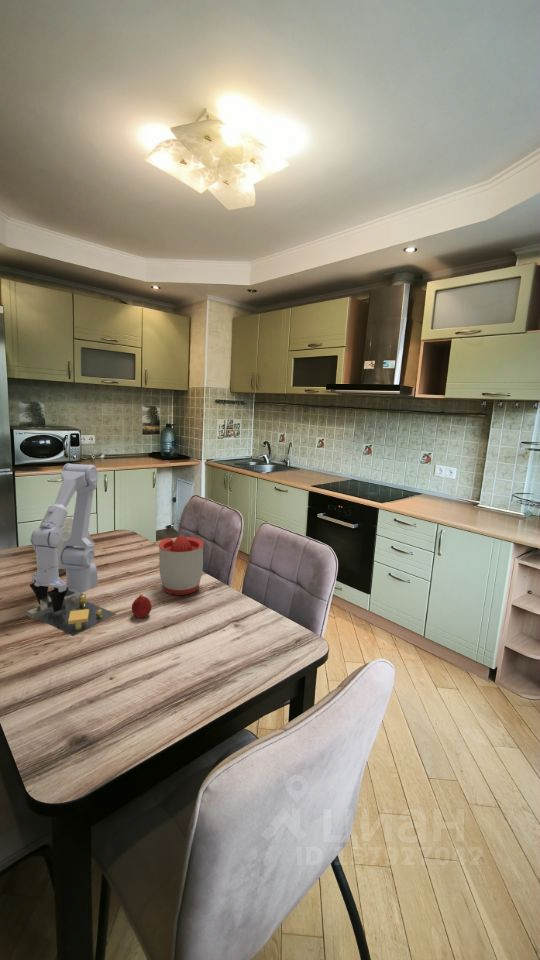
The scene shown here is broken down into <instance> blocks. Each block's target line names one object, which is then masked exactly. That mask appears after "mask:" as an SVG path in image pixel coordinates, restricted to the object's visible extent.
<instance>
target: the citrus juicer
mask: <svg viewBox="0 0 540 960" xmlns="http://www.w3.org/2000/svg"><path fill="white" fill-rule="evenodd" d="M157 545H158V550H159V551H158V553H159V557H158V559H159V562H158V563H159V565H158V567H159V576H160V580H161V584H162V587H163V589H164V592H166V593H168V594H170V595H172V594H174V596H175V595H176V596H178V595H179V596H181V595H182V596H183V595H188V594H192V593H194V592H196V591H197V590H198V588H199V586H200V583H201V579H202V575H203V569H204V545H205V543H204V541H203V540H201V539H199V538H197V537H193V536H192V537H191V536H187V537H185V536H184V535H183V534H180V535H179V536H178V537H176V538H175V540H173V538H172V537H169V538H165V539H163V540H161V541H160V542H159V543H158V544H157Z"/></svg>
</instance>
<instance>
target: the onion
mask: <svg viewBox="0 0 540 960" xmlns="http://www.w3.org/2000/svg"><path fill="white" fill-rule="evenodd" d="M152 607H153V606H152V601H151V600H150V598H149V597H147V596H146V595H143V593H140V594H139V596H138V597H136V598H135V600H133V602H132V604H131V612H132V614H133V615H134V616H135V617H137V618H138V619H144V618H145V617H147V616H148V615H150V612H151V610H152Z"/></svg>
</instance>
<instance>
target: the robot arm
mask: <svg viewBox="0 0 540 960" xmlns="http://www.w3.org/2000/svg"><path fill="white" fill-rule="evenodd" d="M60 476H61V481H62V482H61V486H60V487H59V491H58V493H57V496H56V499H55V502H54V504H52V505H50V506H48V508H47V510H46V513H45V514H44V517H43V519H42V521H41V523H40V525H39V527H37V528H35V529H34V530H33V531H32V533H31V538H30V540H29V541H30V544H31V545H32V546H33V551H34V552H35V557H36V570H37V571H36V572H37V573H34V574H31V580H32V582H33V583H30V584H29V587H30V588H31V590H32V592H33V593H34V596H35V597H36V600H37V603H38V605H39V606H40V600H41V599H43V598H46V597H49V596H50V598H51V601H52V607H53V611H54V612H57V611H59V610H61V609H62V605H63V601H64V598H65V595H66V593H67V592H68V588H73V589H75V590H78V591H80V592H82V593H84V592H86V591H88V590H90V589H92V588H94V587H97V586H98V569H97V565H96V564H95V563H94V560H95V555H94V554H95V545H94V544H93V543H91V542H90V541H89V540H88V539H87V535H88V532H89V526H90V520H91V512H92V506H93V498H94V490H96V489H97V485H98V479H99V471H98V470H97V467H96V466H95V464H81V463H79V464H77V463H69V462H67V463H66V464H64V465H63V467H62V470H61V473H60ZM75 493H76V497H75V505H74V512H73V517H72V519H73V525H72V532H71V538H70V539H68V540H67V541H65V542H64V543H63V547H62V550H61V552H60V555H59V560H60V562H61V564H63V565H64V568H66V569H65V573H66V574H65V575H66V577H65V578H66V583H65V582H64V581H63V580H62V579H61V577H60V576H59V575H60V573H59V570H60V569H58V551H57V546H58V544H59V543H60V541H61V533H62V529H61V528H62V525H63V523H64V521H65V519H66V518H67V516H68V510H67V508H68V505H69V503H70V502H71V500H72V498H73V496H74V494H75ZM73 546H80V547H83V548H78V547H73ZM49 588H53V589H51V590H50V591H49Z"/></svg>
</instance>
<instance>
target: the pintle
mask: <svg viewBox="0 0 540 960" xmlns="http://www.w3.org/2000/svg"><path fill="white" fill-rule="evenodd" d="M86 595H87V594H85V593H82V594H81V595H79V607H85V606H86V601H87V596H86Z"/></svg>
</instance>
